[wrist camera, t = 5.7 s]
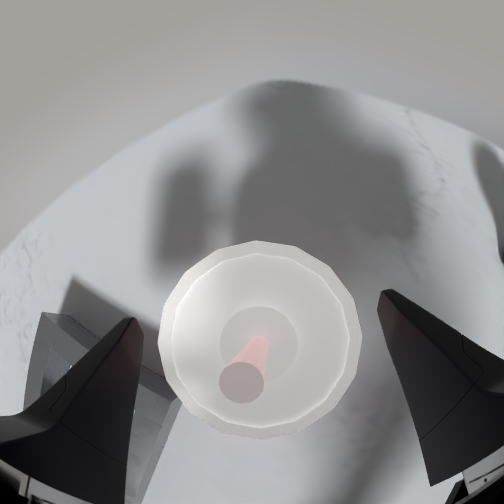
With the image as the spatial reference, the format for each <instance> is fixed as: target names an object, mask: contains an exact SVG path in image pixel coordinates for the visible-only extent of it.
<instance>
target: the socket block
mask: <svg viewBox="0 0 504 504" xmlns="http://www.w3.org/2000/svg"><path fill="white" fill-rule="evenodd" d="M100 340H101V339H99V338H98V337H96V336H95V335H94V334H92V333H91V332H89V331H88V330H87V329H85V328H84V327H83V326H81V325H80V324H78V323H77V322H76V321H74V320H73V319H72V318H71V317H69V316H68V315H63V314H54V313H47V312H42V314H41V317H40V321H39V325H38V328H37V332H36V336H35V341H34V345H33V349H32V354H31V359H30V364H29V370H28V376H27V383H26V390H25V398H24V408H23V411H24V410H25V409H26V408H28V407H29V406H30V405H31V404H32V403H33V402H35V401H36V400H37V399H38V398H39V397H40V396H42V395H43V394H44V393H45V392H46V391H47V390H49V389H50V388H51V387H52V386H53V385H54V384H55V383H56V382H57V381H58V380H59V379H60V378H61V377H62V376H63V375H64V374H66V372H67V371H68V370H69V367H70V364H71V365H72V366H74V365H75V364H76V363H77V362H78V361H79V360H80V359H81V358H82V357H83V356H84V355H85V354H86V353H87V352H88V351H89V350H90V349H91V348H92V347H93V346H94V345H96V344H97V343H98V342H99V341H100ZM181 404H182V402H181V400H180V399H179V398H178V396H177V395H176V393H175V392H174V391H173V389H172V388H171V386H170V385H169V383H168V382H167V380H166V379H165V378H163V377H161V376H160V375H158V374H156V373H154V372H152V371H151V370H149V369H147V368H145V367H144V366H142V365H141V372H140V378H139V384H138V389H137V395H136V401H135V407H134V410H135V414H134V417H133V420H132V427H131V435H130V443H129V452H128V461H127V474H126V487H125V504H141V502H142V500H143V497H144V495H145V492H146V490H147V487H148V485H149V482H150V480H151V477H152V475H153V472H154V470H155V467H156V465H157V462H158V460H159V457H160V455H161V453H162V450H163V448H164V445H165V443H166V440H167V438H168V435H169V433H170V430H171V428H172V426H173V423H174V421H175V418H176V416H177V413H178V411H179V408H180V406H181Z"/></svg>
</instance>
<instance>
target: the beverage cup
mask: <svg viewBox="0 0 504 504" xmlns="http://www.w3.org/2000/svg"><path fill="white" fill-rule="evenodd" d="M361 342H362V332H361V328H360V324H359V319H358V315H357V311H356V307H355V303H354V299H353V297H352V296H351V294H350V293H349V292H348V290H347V289H346V288H345V286H344V285H343V284H342V282H341V281H340V280H339V278H338V277H337V276H336V274H335V273H334V272H333V270H332V269H331V268H330V266H328V265H326V264H325V263H323V262H321V261H320V260H318V259H316V258H314V257H313V256H311V255H309V254H308V253H306V252H304V251H303V250H301V249H299V248H297V247H296V246H291V245H284V244H277V243H271V242H264V241H257V240H255V241H251V242H246V243H242V244H238V245H234V246H229V247H225V248H221V249H217V250H216V251H214V252H213V253H211V254H210V255H208V256H207V257H206V258H204V259H203V260H201V261H200V262H198V263H197V264H196V265H194V266H193V267H191V268H190V269H189V270H187V271H186V272H185V273H184V274H183V276H182V277H181V279H180V281H179V282H178V284H177V285H176V287H175V288H174V290H173V291H172V293H171V295H170V296H169V298H168V299H167V301H166V303H165V304H164V308H163V314H162V319H161V325H160V330H159V336H158V347H159V352H160V356H161V361H162V365H163V369H164V373H165V378H166V380H167V382H168V383H169V385H170V386H171V388H172V389H173V391H174V392H175V393H176V395H177V396H178V398H179V399H180V400H181V402H182V403H183V405H184V406H185V407H186V409H187V410H188V411H189V412H190V413H192V414H193V415H195V416H196V417H198V418H199V419H201V420H203V421H204V422H206V423H207V424H209V425H211V426H212V427H214V428H216V429H217V430H219V431H221V432H223V433H228V434H233V435H238V436H243V437H249V438H256V439H266V438H271V437H276V436H281V435H286V434H290V433H295V432H299V431H302V430H303V429H305V428H306V427H308V426H309V425H311V424H312V423H314V422H315V421H317V420H318V419H320V418H321V417H323V416H324V415H326V414H327V413H328V412H330V411H331V410H333V409H334V408H335V406H336V405H337V403H338V402H339V400H340V399H341V397H342V396H343V394H344V393H345V391H346V390H347V388H348V387H349V385H350V384H351V382H352V380H353V379H354V377H355V375H356V371H357V366H358V360H359V355H360V349H361Z"/></svg>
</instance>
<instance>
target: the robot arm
mask: <svg viewBox="0 0 504 504" xmlns="http://www.w3.org/2000/svg"><path fill="white" fill-rule="evenodd" d="M377 311H378V316H379V319H380V322H381V326H382V329H383V333H384V336H385V340H386V344H387V347H388V350H389V353H390V355H391V358H392V360H393V363H394V366H395V368H396V371H397V374H398V376H399V379H400V382H401V385H402V388H403V391H404V393H405V396H406V399H407V402H408V405H409V408H410V412H411V415H412V418H413V421H414V425H415V428H416V431H417V435H418V438H419V442H420V446H421V450H422V454H423V458H424V462H425V466H426V470H427V474H428V479H429V483H430V486H433V485H436V484H438V483H440V482H442V481H444V480H446V479H449V478H451V477H453V476H454V475H456V474H458V473H460V472H462V474H463V477H464V478H463V479H462V480H460V481H458V482H457V483H455V485H454V487H453V489H452V491H451V493H450V495H449V497H448V499H447V501H446V503H445V504H504V360H503V359H501V358H499V357H498V356H496V355H494V354H492V353H491V352H489V351H487V350H486V349H484V348H482V347H481V346H479V345H477V344H476V343H474V342H473V341H471V340H470V339H468V338H467V337H465V336H464V335H461V333H459V332H458V331H457V330H455V329H454V328H452V327H451V326H449V325H448V324H446V323H445V322H443V321H442V320H440V319H439V318H437V317H435V316H434V315H432V314H431V313H429V312H428V311H426V310H425V309H423V308H422V307H420V306H419V305H417V304H415V303H414V302H412V301H411V300H409V299H408V298H406V297H404V296H403V295H401V294H400V293H398V292H396V291H395V290H393V289H387V290H383V291H382V292H381V294H380V298H379V303H378V307H377ZM143 341H144V335H143V331H142V329H141V328H140V326H139V324H138V322H137V320H136V319H135V318H134V317H126V318H124V319H122V320H121V321H120V322H119V323H118V324H117V325H116V326H115V327H114V328H113V329H112V330H110V331H109V332H108V333H107V334H106V335H105V336H104V337H103V338H102V339H101V340H100V341H99V342H98V343H97V344H96V345H94V346H93V347H92V348H91V349H90V350H89V351H88V352H87V353H86V354H85V355H84V356H83V357H82V358H81V359H80V360H79V361H78V362H77V363H76V364H75V365H74V366H73V367H72V368H70V369H69V370H68V371H67V372H66V374H64V375H63V376H62V377H61V378H60V379H59V380H58V381H57V382H56V383H55V384H54V385H53V386H52V387H51V388H50V389H49V390H47V391H46V392H45V393H44V394H43V395H42V396H40V397H39V398H38V399H37V400H36V401H35V402H33V403H32V404H31V405H30V406H29V407H28V408H26V409H25V410H24V411H23V412H21V413H19V414H16V415H11V416H0V504H125V487H126V474H127V461H128V452H129V443H130V435H131V427H132V420H133V414H134V407H135V401H136V395H137V389H138V384H139V378H140V372H141V362H142V351H143Z"/></svg>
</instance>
